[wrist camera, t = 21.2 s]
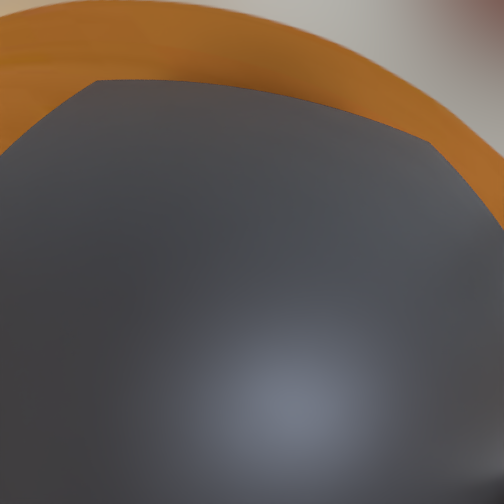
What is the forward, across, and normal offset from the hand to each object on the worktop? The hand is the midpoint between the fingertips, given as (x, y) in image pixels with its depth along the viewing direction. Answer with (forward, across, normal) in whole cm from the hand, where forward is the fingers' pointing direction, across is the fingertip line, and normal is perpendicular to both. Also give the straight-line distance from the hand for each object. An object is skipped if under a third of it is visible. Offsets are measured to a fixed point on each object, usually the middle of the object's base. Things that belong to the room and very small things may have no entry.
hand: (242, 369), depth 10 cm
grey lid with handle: (-3, 0, -7) cm, 7 cm away
